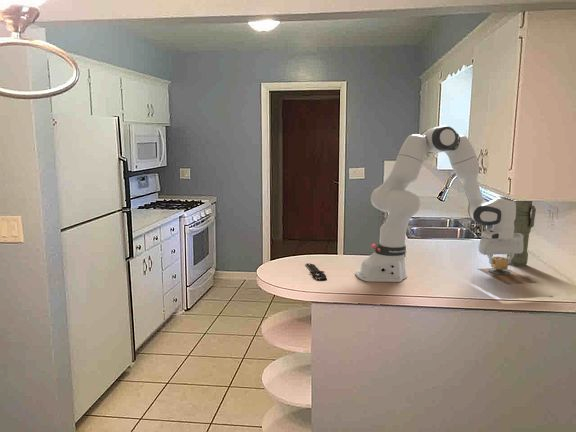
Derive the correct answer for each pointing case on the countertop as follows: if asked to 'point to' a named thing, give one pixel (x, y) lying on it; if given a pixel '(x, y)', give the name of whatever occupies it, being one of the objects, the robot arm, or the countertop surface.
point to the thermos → (523, 229)
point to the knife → (317, 272)
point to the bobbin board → (507, 275)
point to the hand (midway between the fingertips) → (499, 263)
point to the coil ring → (500, 263)
